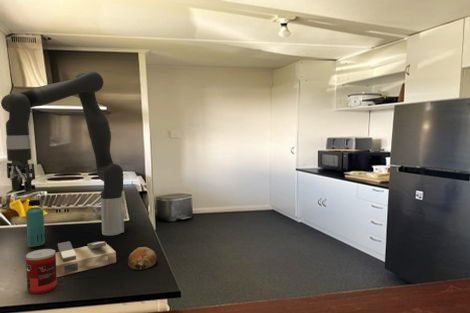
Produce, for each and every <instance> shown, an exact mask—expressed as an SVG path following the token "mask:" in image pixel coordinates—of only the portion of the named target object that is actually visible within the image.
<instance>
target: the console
mask: <svg viewBox="0 0 470 313" xmlns="http://www.w3.org/2000/svg"><path fill="white" fill-rule="evenodd" d="M73 249H74V251H75V253H76V259H72V260H67V261H63V260H62V257H61V256H60V252H59V251H57V252H56V251H55V253H56V274H57V278H59V277H64V276H67V275H72V274H76V273H79V272H83V271H87V270H92V269H96V268H101V267H104V266H108V265H111V264H115V263H117V251H116V250H114V249H113V248H112V246H110V245H109V244H107V243H106V246H103V247H102V248H97V249H92V250H91V249H90V247H88V246H82V247H77V248H73Z"/></svg>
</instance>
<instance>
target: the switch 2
mask: <svg viewBox="0 0 470 313" xmlns="http://www.w3.org/2000/svg"><path fill="white" fill-rule="evenodd" d="M106 244H107V242H106V241H95V242H91V243H87V246H88V247H90V249H91V250H92V249H97V248H102V247H103V246H106Z"/></svg>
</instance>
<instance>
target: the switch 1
mask: <svg viewBox="0 0 470 313" xmlns="http://www.w3.org/2000/svg"><path fill="white" fill-rule="evenodd" d="M57 248H58V252H60V256H61V257H62V260H63V261H67V260H72V259H76V253H75V251H74V249H75V248H73V245H72V243H71V241H69V240H68V241H63V242H58V243H57Z"/></svg>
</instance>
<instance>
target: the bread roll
mask: <svg viewBox="0 0 470 313" xmlns="http://www.w3.org/2000/svg"><path fill="white" fill-rule="evenodd" d="M157 259H158V258H157V254H156V252H155V251H154V250H153V249H151V248H149V247H147V246H142V247H141V246H140V247H137V248H136V249H134V250H133V251H132V252H131V253H130V254H129V256H128V260H127V265H128V267H129V269H131V270H139V271H140V270H145V269H149V268H151V267H153V266H154V265H156V262H157Z"/></svg>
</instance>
